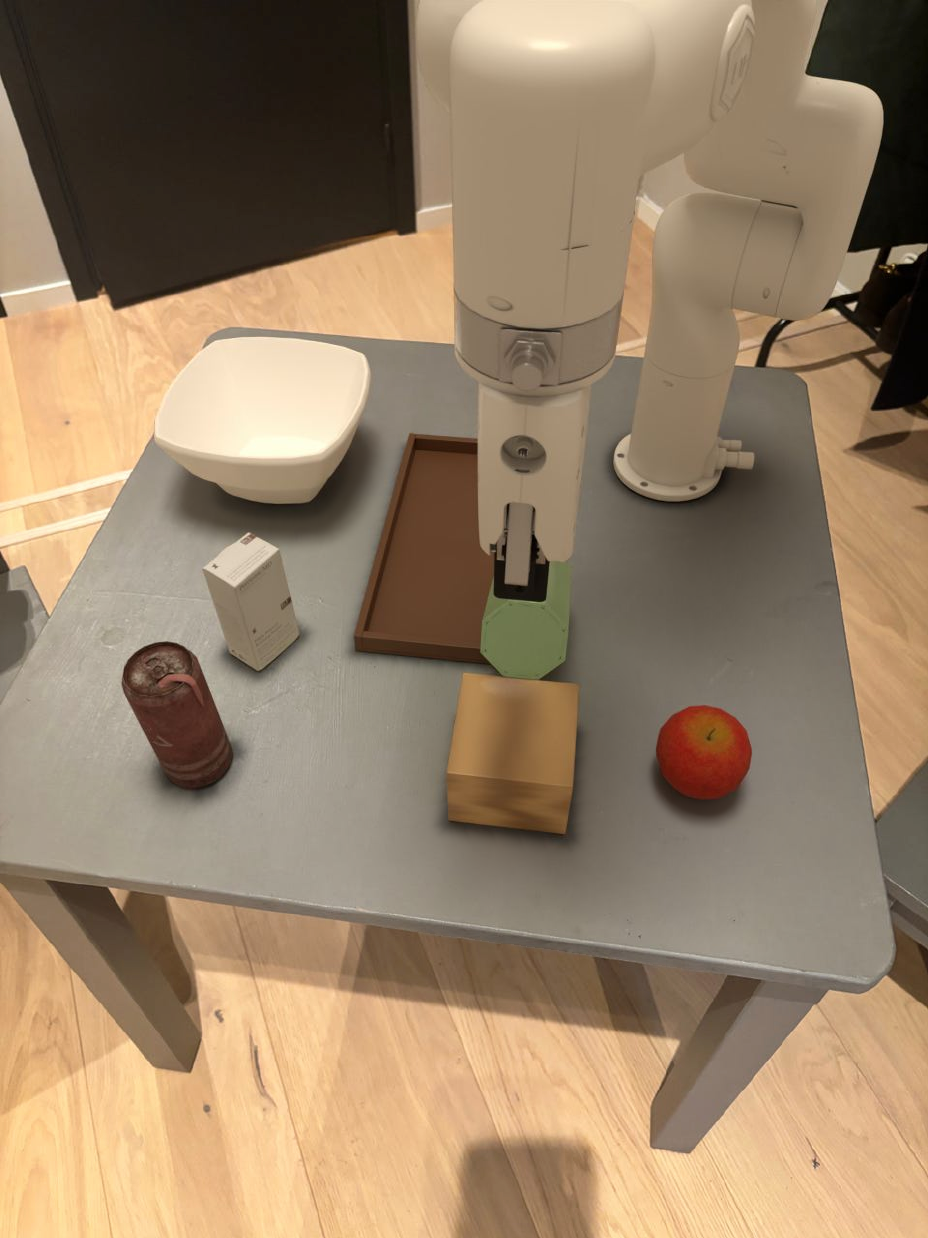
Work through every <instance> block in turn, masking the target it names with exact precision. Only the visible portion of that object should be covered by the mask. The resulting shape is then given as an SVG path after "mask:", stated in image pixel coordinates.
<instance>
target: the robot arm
mask: <svg viewBox="0 0 928 1238" xmlns="http://www.w3.org/2000/svg"><path fill="white" fill-rule="evenodd" d="M817 4H818V2H817V0H419V3H418V9H417V14H416V29H415V38H416V39H415V40H416V54H417V59H418V65H419V70H420V72H421V75H422V78H423V80H424V82H425V87H426V88H427V91H428V92H429V93H430V95H431V96H432V98H433V99H434V101H435V102H436V103H437V104H438V105H439V107H441V108H442V109H443V110H444V111H445V112H446V113H448V114H449V126H450V127H449V129H450V131H449V132H450V133H449V134H450V170H451V171H450V172H451V173H450V174H451V175H450V176H451V177H450V178H451V219H452V223H451V224H452V225H451V226H452V268H453V271H452V272H453V327H454V331H453V333H454V334H453V335H454V355H455V358H456V361H457V363H458V365H459V366H460V368H461V369H462V370H463V372H464V373H466V374H467V375H468V376H469V377H470V378H472V379H473V380H475V381H476V382H478V385H477V386H478V391H477V439H478V517H479V539H480V546H481V548H482V549H483V550H484V551H485V552H486V553H487V554H488V555H491V552H494V590H493V594H494V596H495V597H497V598H500V599H511V600H521V601H532V602H544V601H545V600H546V597H547V586H548V576H549V566H550V561H559V562H565V561H566V560H567V561H568V559H570V558H571V557H572V556H573V552H574V545H575V537H576V536H575V535H576V527H577V520H578V519H577V518H578V509H579V503H580V502H579V500H580V494H581V483H582V475H583V469H584V460H585V459H584V458H585V451H586V445H587V444H586V443H587V433H588V423H589V415H590V403H591V393H592V392H591V389H592V385H593V384H594V383H596V382H598V381H600V380H601V379H602V378H603V377H604V376H605V375H606V374H608V372H609V371H610V370H611V368H612V367H613V364H614V363H615V362H614V361H615V359H616V355H617V345H618V339H619V331H620V325H621V319H622V317H621V316H622V311H623V310H622V309H623V302H624V297H625V296H624V294H625V289H626V281H627V273H628V265H629V259H630V253H631V244H632V238H633V229H634V224H635V223H634V222H635V215H636V202H637V196H638V190H639V184H640V178H641V177H642V176H644V175H646V174H647V173H649V172H651V171H653V170H655V169H656V168H658V167H660V166H662V165H664V164H666V163H668V162H670V161H671V160H673V159H676V158H677V157H679V156H681V155H683V162H684V167H685V171H686V174H687V175H688V177H689V178H690V180H691V181H692V182H694V183H695V184H697V185H699V186H700V187H703V188H705V189H708V190H711V191H715V193H714V192H692V193H688V194H683V195H682V196H678V197H676V198H675V199H674V200H672V201H671V202H670V203H669V204H667V206H666V207H665V208H664V209H663V210H662V212H661V213H660V215H659V218H658V220H657V222H656V225H655V228H654V231H653V232H654V233H653V237H652V238H653V239H652V246H651V304H650V313H649V320H648V321H649V322H648V327H647V334H646V338H645V339H646V340H645V347H644V352H643V353H644V354H643V360H642V366H641V372H640V377H639V383H638V389H637V395H636V401H635V407H634V414H633V419H632V425H631V426H632V427H631V431H630V433H629V434H627V435H626V436H624V437H623V438H622V439H621V440H620V441H619V442H618V444H617V446H616V447H615V450H614V454H613V461H612V462H613V463H612V464H613V469H614V471H615V474H616V476H617V477H618V478H619V480H620V481H621V482H622V483H623V484H624V485H625V486H626V487H627V488H629V489H630V490H632V491H633V492H635V493H637V494H639V495H641V496H644V497H646V498H649V499H653V500H657V501H664V502H686V501H691V500H694V499H698V498H700V497H703V496H705V495H707V494H708V493H710V492H711V491H712V490H713V489H714V488H715V487H716V486H717V485H718V483H719V481H720V479H721V476H722V472H723V470H724V469H725V468H735V469H741V470H753V468H754V463H755V452H752V451H751V452H750V451H741V450H742V446H743V444H742V443H743V441H742V440H737V439H722V437H721V436H718V433H719V429H720V425H721V421H722V417H723V414H724V410H725V405H726V401H727V397H728V394H729V390H730V386H731V382H732V378H733V374H734V371H735V366H736V363H737V359H738V355H739V351H740V344H741V336H740V335H741V334H740V327H739V323H738V320H737V317H736V314H735V311H734V310H737V311H741V312H746V313H751V314H756V315H761V316H766V317H771V318H775V319H781V320H787V321H794V322H795V321H796V322H799V321H800V322H801V321H807V320H811V319H813V318H814V317H816V316H818V315H819V314H820V313H821V312H822V310H824V308H825V307H826V306H827V304H828V303H829V301H830V299H831V297H832V295H833V293H834V290H835V289H836V285H837V283H838V281H839V277H840V274H841V271H842V269H843V265H844V263H845V259H846V256H847V253H848V250H849V247H850V243H851V240H852V238H853V235H854V231H855V228H856V225H857V221H858V218H859V215H860V212H861V209H862V206H863V203H864V200H865V196H866V193H867V191H868V187H869V184H870V182H871V181H870V180H871V178H872V175H873V172H874V168H875V165H876V161H877V157H878V153H879V149H880V146H881V140H882V136H883V129H884V109H883V104H882V101H881V99H880V97H879V96H878V94H877V93H876V92H875V91H874V90H872V89H871V88H869V87H867V86H865V85H863V84H860V83H857V82H851V81H845V80H839V79H833V78H823V77H818V76H812V75H808V74H806V72H805V61H806V56H807V53H808V49H809V44H810V41H811V36H812V33H813V29H814V25H815V22H816V17H817V6H818V5H817ZM716 192H720V193H716ZM770 202H771V203H770ZM792 206H793V207H792Z"/></svg>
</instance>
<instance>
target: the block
mask: <svg viewBox="0 0 928 1238" xmlns="http://www.w3.org/2000/svg"><path fill="white" fill-rule="evenodd" d="M461 676H462V677H461V682H460V688H459V695H458V701H457V706H456V713H455V720H454V724H453V730H452V736H451V742H450V748H449V754H448V760H447V766H446V772H445V775H446V795H447V815H448V821H449V822H450V821H451V822H459V823H467V824H475V825H485V826H493V827H499V828H500V827H501V828H502V827H503V828H510V829H518V830H527V831H535V832H544V833H553V834H560V835H566V831H567V825H568V819H569V813H570V807H571V802H572V796H573V790H574V779H575V762H576V748H577V747H576V746H577V745H576V744H577V732H578V731H577V730H578V715H579V699H580V698H579V697H580V684H579V683H569V682H559V681H552V680H551V681H549V680H542V679H541V680H540V679H539V680H533V679H523V678H513V677H504V676H502V675H501V676H500V675H490V674H481V673H473V672H472V673H471V672H463V673H462V675H461Z"/></svg>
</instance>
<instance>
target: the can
mask: <svg viewBox="0 0 928 1238" xmlns="http://www.w3.org/2000/svg"><path fill="white" fill-rule="evenodd" d="M121 688H122V692H123V694H124V696H125V698H126V701H127V702H128V704H129V706H130V708H131V710H132V712H133V714H134V715H135V717H136V720H137V721H138V724H139V726H140V727H141V729H142V731H143V733H144V735H145V737H146V739H147V742H148V743H149V745H150V747H151V748H152V751H153V753H154V754H155V757H156V758H157V760H158V762H159V764H160V766H161V768H162V770H163V772H164V774H165V775H166V777H167V778H168V779H169V780H170V782H172V783H174V784H175V785H177V786H179V787H183V788H190V789H192V788H193V789H194V788H201V787H205V786H207V785H211V784H212V783H214V782H216V781H217V780H218V779H220V778H221V777H222V776H223V775H224V774H225V772H226V771H227V770H228V769H229V767H230V764H231V762H232V759H233V747H232V744H231V741H230V739H229V736H228V733H227V731H226V728H225V726H224V723H223V720H222V717H221V715H220V712H219V710H218V708H217V706H216V702H215V700H214V697H213V695H212V692H211V690H210V687H209V684H208V682H207V679H206V677H205V674H204V672H203V669H202V666H201V664H200V662H199V659H198V657H197V656H196V654H194V653H193V651H191V650H190V649H188V648H187V647H186V646H184V645H182V644H180V643H179V642H178V643H177V642H175V641H174V642H173V641H167V640H166V641H165V640H164V641H155V642H153V643H150V644H147V645H145V646H144V645H143V647H141V648H140V649H138V650H136V651H135V652H133V654H131V656H130V657H129V658H128V659H127V660H126V663H125V665H124V667H123V671H122V677H121Z"/></svg>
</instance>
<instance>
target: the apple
mask: <svg viewBox="0 0 928 1238" xmlns="http://www.w3.org/2000/svg"><path fill="white" fill-rule="evenodd" d="M655 755H656V759H657V763H658V766H659V769H660V772H661V775H662V776H663V778H665V780H666V781H667V783H668V784H670V785H671V787H672V788H673V789H674V790H676V791H677V792H678V793H680V794H682V795H684V796H685V797H689V798H693V799H697V800H717V799H720V798H722V797H724V796H727V795H728V794H730V793H731V792H734V791H735V790H736V789H738V788H739V787H740V785H741V784H742V782H743V781H744V779H745V778H746V776H747V775H748V773H749V771H750V768H751V762H752V758H753V748H752V745H751V741H750V737H749V734H748V731H747V729H746V728H745V726H744V725H743V724H742V723H741V722H740V721H739V720H738V718H737V717H736V716H734V715H732V714H731V713H730V712H727V711H725V710H724V709H722V708H719V707H715V706H710V705H707V704H700V705H690V706H687V707H685V708H683V709H681V710H679V711H677V712H675V713H674V714H672V715H671V716H670V717H669V718H668V719H667V720H666V721H665V723H664V724H663V725H662V726H661V727H660V729H659V732H658V735H657V740H656V745H655Z"/></svg>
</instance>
